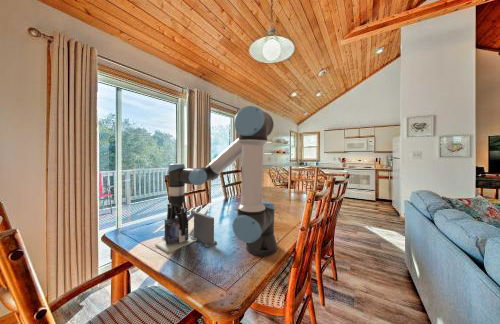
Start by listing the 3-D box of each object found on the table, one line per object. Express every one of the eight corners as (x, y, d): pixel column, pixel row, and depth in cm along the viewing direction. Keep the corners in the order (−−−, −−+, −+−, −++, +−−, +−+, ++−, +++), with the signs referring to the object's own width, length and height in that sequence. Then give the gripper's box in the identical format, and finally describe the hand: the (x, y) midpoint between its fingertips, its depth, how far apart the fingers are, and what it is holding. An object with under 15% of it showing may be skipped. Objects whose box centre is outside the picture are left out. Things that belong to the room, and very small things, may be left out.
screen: (217, 243, 99) (217, 216, 98) (208, 248, 95) (208, 219, 94) (199, 235, 108) (199, 210, 107) (190, 239, 103) (190, 213, 102)
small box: (166, 245, 93) (166, 223, 93) (164, 240, 99) (163, 219, 98) (188, 240, 99) (188, 219, 98) (185, 235, 104) (185, 216, 104)
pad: (197, 240, 102) (197, 238, 102) (167, 253, 89) (167, 251, 89) (184, 234, 109) (184, 233, 109) (155, 245, 96) (155, 243, 96)
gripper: (196, 196, 94) (196, 242, 96) (172, 190, 107) (172, 231, 108) (182, 199, 88) (182, 248, 90) (158, 192, 101) (159, 235, 102)
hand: (177, 238), depth 99 cm, fingers closed on small box, 8 cm apart
